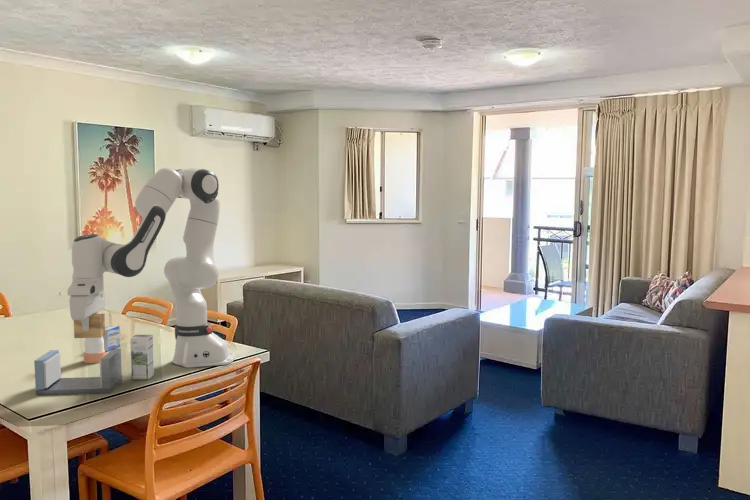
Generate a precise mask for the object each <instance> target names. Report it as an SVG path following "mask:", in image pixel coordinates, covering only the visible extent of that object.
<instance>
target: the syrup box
mask: <svg viewBox="0 0 750 500" xmlns="http://www.w3.org/2000/svg"><path fill="white" fill-rule="evenodd" d="M130 357H131V358H130V359H131V361H130V362H131V365H130V366H131V380H133V381H134V380H138V381H139V380H140V381H141V380H143V381H147V380H150V379H151V378H153V376H154V375H155V371H154V335H153V334H135V335H133V336H132V337H130Z"/></svg>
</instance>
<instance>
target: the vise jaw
mask: <svg viewBox="0 0 750 500" xmlns="http://www.w3.org/2000/svg"><path fill="white" fill-rule="evenodd" d="M59 351H60V350H59V349H55V350H54V349H51V350H49V351H48V352H46V353H44V354H42V355H41V356H40V357H38V358H36V359H35V360H34V363H33V364H34V380H35V381H34V385H35V391H36V390H41V389H45V388H48V387H49V386H50V385H51V384H53V383H54V382H55V381H57V380H58V379H59V378H62V369H61V368H62V367H61V353H60V352H59Z"/></svg>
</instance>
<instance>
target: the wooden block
mask: <svg viewBox="0 0 750 500" xmlns="http://www.w3.org/2000/svg"><path fill="white" fill-rule="evenodd" d="M105 315H106V314H105V313H102V314H93V315H91V316H90V317H89V324H90V330H88V331H83V325H82V323H81V320H73V332H74V333H73V336H74V339H85V338H101V337H103V336H104V335H105V327H106V323H105V321H106V318H105Z"/></svg>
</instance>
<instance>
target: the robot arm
mask: <svg viewBox="0 0 750 500" xmlns="http://www.w3.org/2000/svg"><path fill="white" fill-rule="evenodd" d="M218 194H219V179H218V176H217V175H216V174H215V173H214V172H213V171H211V170H208V169H205V168H203V169H202V168H201V169H200V168H186V169H177V170H176V169H172V168H170V167H163V168H162V167H161V169H159V170H158V171H157V172H156V173H154V174H153V175H152V176H151V178H150V179H148V181H147V182H146V183H145V184H144V186H143V187H142V188H141V190H140V191H139V193H138V195H137V197H136V199H135V201H134V205H135V210H136V212H137V213H138V214H139V216H141V223H140V224H139V225H138V226H139V227H138V228H137V230H136V232H135V233H134V235H133V236H132V239H131V240H130V241H129V242H127V243H126V244H121V243H115V242H112V241H109V240H107V239H105V238H103V237H101V235H99V234H96V233H90V234H84V235H80V236H77V237H76V238H75V239H74V240H73V241H72V242H73V243H72V246H71V265H72V268H73V271H72V272H73V273H72V277H71V279H72V281H71V284H70V286H69V287H68V288H67V296H69V301H68V302H69V312H70V317H71V319H72V321H74V320H81V323H82V325H83V331H88V330H90V324H89V317H90V316H91V315H93V314H98V312H100V311H102V310H104V309H105V307H106V298H105V291H104V287H105V286H104V273H106V272H107V273H111V274H116V275H119V276H122V277H125V278H133V277H135V276H137V275H139V274H140V273H142V271H143V270H144V268H145V267H146V264H147V258H148V255H149V252H150V250H151V248H152V246H153V244H154V242H155V240H156V239H157V237H158V235H159V233H160V232H161V229H162V228H163V225H164V223H165V221H166V216H167V214H168V212H169V210H170V209H171V207H172V206H173V204H174V203H175V201H176V199H178V198H179V199H185V200H186V199H187V200H189V203H190V209H189V213H188V216H187V219H186V223H185V226H184V227H185V228H184V232H183V236H182V239H183V242H184V245H185V248H186V249H185V253H186V256H175V257H172V258H170V259H169V260H167V262H166V263H165V265H164V267H163V273H164V277H165V279H166V280H167V282H168V283H169V284H170V288H171V291H172V295H173V299H174V304H175V322H176V323H175V324H174V338H175V346H174V347H175V349H174V354H173V358H172V363H173V364H174V365H176V366H177V365H178V366H182V367H183V368H199V367H210V366H211V367H212V366H224V365H225V366H226V365H229V364H231V363H233V361H235V354H234V353H233V352H230V351H229V346H228V343H227V341H226V340H225V339H223V338H222V337H220V336H219V335H218V334H216V333H214V332H213V330H214V329H213V328H214V326H213V323H210V322H208V306H207V305H208V304H207V301H206V299H205V298H204V296H203V294H202V291H201V290H204V289H210V288H212V287H213V286H215V284H216V283H217V282H218V279H219V269H218V267H217V265H216V264H215V260H214V258H215V257H214V242H215V238H216V234H217V233H216V232H217V227H218V224H219V219H220V210H221V209H220V208H221V206H220V205H221V203H220V199H219V198H218Z"/></svg>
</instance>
